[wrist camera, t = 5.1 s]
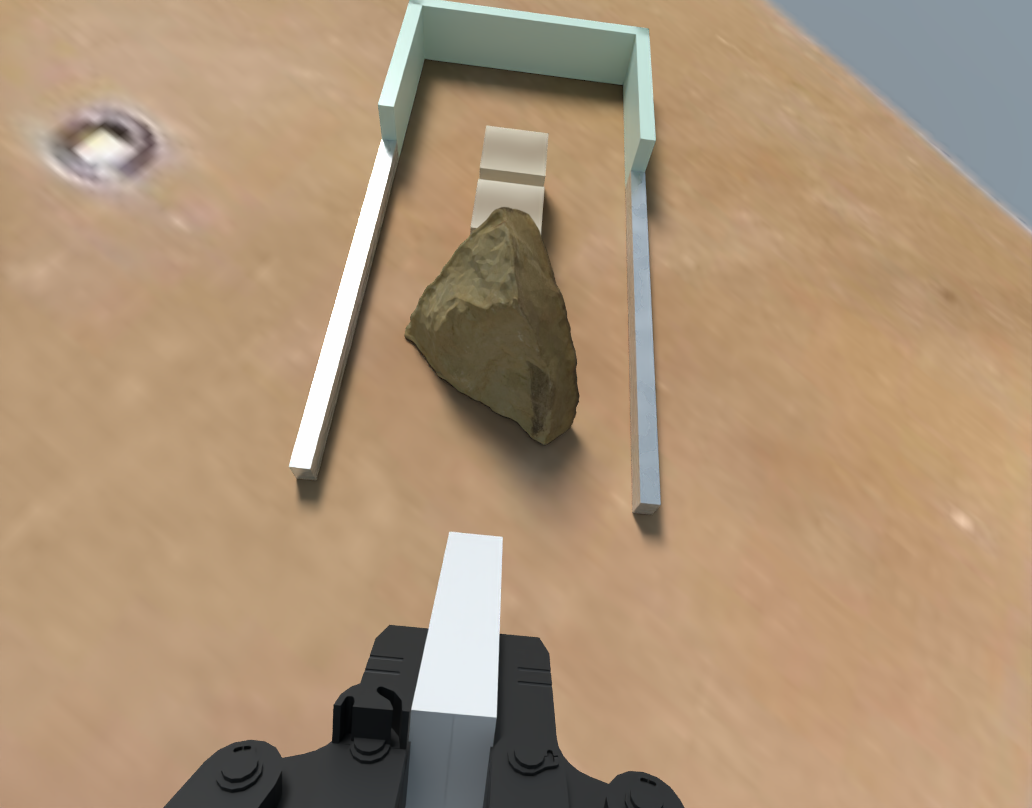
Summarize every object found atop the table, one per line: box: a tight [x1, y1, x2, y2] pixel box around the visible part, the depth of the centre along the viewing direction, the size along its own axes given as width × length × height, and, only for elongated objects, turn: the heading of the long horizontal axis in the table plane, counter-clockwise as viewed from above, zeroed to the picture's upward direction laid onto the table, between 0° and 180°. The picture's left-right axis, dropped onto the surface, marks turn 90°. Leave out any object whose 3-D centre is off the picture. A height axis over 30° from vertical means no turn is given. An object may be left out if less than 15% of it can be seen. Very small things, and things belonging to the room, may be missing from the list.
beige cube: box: [479, 126, 548, 187], centre depth 39 cm, size 4×4×4 cm
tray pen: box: [378, 0, 656, 187], centre depth 43 cm, size 13×18×4 cm
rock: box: [405, 207, 579, 445], centre depth 31 cm, size 10×8×10 cm
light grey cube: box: [470, 179, 544, 234], centre depth 36 cm, size 4×4×4 cm
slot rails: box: [289, 139, 661, 515], centre depth 35 cm, size 24×18×2 cm
